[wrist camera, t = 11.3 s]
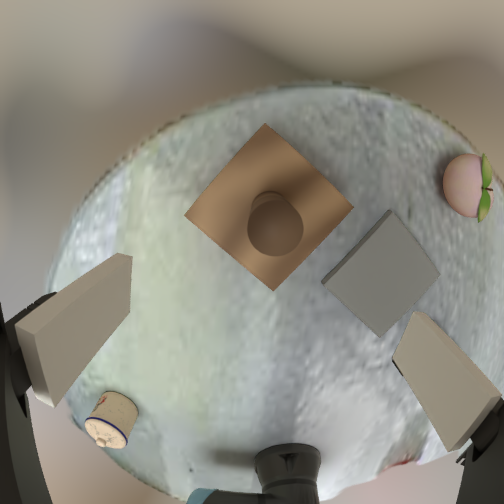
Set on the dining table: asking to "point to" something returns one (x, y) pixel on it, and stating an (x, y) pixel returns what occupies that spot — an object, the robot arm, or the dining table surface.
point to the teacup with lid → (112, 420)
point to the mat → (382, 275)
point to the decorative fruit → (469, 185)
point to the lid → (269, 208)
